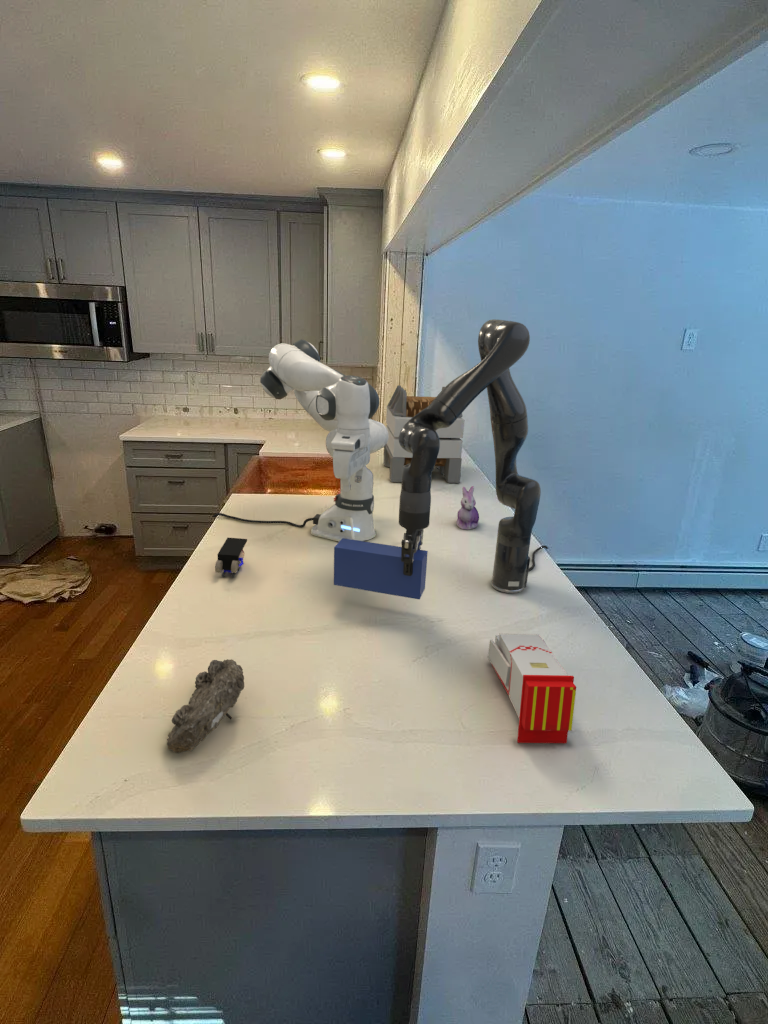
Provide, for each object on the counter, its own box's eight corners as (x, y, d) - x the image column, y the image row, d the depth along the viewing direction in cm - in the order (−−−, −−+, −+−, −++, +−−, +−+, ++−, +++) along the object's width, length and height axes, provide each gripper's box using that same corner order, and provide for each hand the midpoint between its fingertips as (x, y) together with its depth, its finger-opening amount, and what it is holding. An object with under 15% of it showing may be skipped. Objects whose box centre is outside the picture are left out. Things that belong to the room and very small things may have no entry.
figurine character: (238, 584, 162) (249, 557, 175) (236, 562, 158) (247, 536, 172) (215, 584, 161) (227, 556, 175) (212, 561, 158) (225, 535, 171)
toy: (536, 617, 130) (585, 683, 100) (531, 671, 132) (578, 750, 103) (483, 616, 129) (518, 682, 100) (479, 670, 132) (511, 749, 103)
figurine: (464, 532, 204) (468, 492, 199) (449, 522, 212) (452, 484, 207) (486, 528, 208) (490, 489, 203) (469, 519, 216) (473, 481, 211)
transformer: (382, 463, 289) (386, 382, 275) (445, 464, 293) (451, 384, 279) (390, 482, 257) (394, 392, 243) (460, 483, 261) (468, 394, 247)
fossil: (192, 660, 117) (244, 628, 112) (224, 691, 120) (276, 661, 115) (142, 746, 98) (202, 712, 93) (182, 779, 101) (242, 748, 96)
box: (333, 584, 147) (334, 547, 143) (341, 574, 152) (342, 538, 149) (419, 599, 141) (422, 560, 137) (424, 588, 147) (427, 550, 143)
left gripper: (355, 430, 164) (354, 476, 169) (328, 443, 146) (328, 495, 150) (375, 431, 163) (374, 478, 167) (351, 446, 144) (351, 497, 148)
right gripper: (423, 518, 130) (419, 584, 135) (435, 499, 143) (431, 560, 148) (392, 514, 131) (389, 579, 137) (406, 496, 144) (403, 556, 150)
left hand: (352, 486), depth 158 cm, fingers open, 8 cm apart
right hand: (411, 569), depth 143 cm, fingers closed on box, 6 cm apart
